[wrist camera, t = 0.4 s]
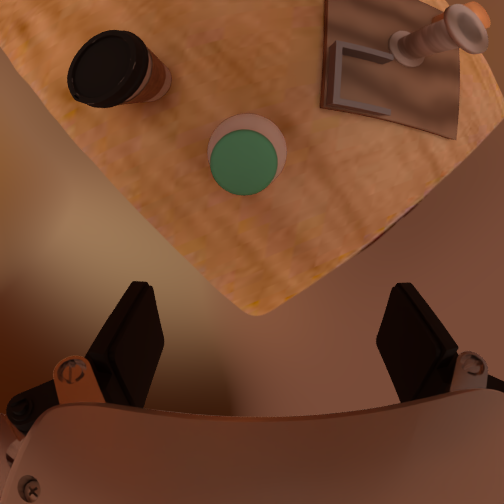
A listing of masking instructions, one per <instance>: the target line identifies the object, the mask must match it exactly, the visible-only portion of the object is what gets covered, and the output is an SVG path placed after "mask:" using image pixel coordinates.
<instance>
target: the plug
mask: <svg viewBox="0 0 504 504" xmlns="http://www.w3.org/2000/svg"><path fill="white" fill-rule="evenodd" d="M464 6H466V7H468V8H469V9H470V10H472V11H473V12H474V13H475V14H476V15H477V16H478V18H479V19H480V20H481V22H482V23H483V25H484V27H485V29H486V28H489V27H490V24H491V23H490V18H489V16H488V14H487V12H486V11H485V9H484V8H483V7H482V6H481V5H480V4H478V3H477V2H474V1H473V2H470V3H467V4H464ZM443 19H444V13H442V14H440V15H437V16H435V17H433V18H432V24H433V23H435V22H438V21H440V20H443Z"/></svg>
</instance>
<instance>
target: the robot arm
mask: <svg viewBox="0 0 504 504" xmlns="http://www.w3.org/2000/svg"><path fill="white" fill-rule="evenodd" d="M376 344H377V347H378V349H379V352H380V354H381V356H382V358H383V361H384V363H385V365H386V368H387V370H388V373H389V375H390V377H391V380H392V382H393V384H394V387H395V389H396V392H397V394H398V397H399V400H400V402H401V403H399V404H393V405H388V406H382V407H377V408H370V409H364V410H356V411H349V412H340V413H330V414H319V415H306V416H289V417H288V416H286V417H232V416H211V415H198V414H186V413H178V412H169V411H159V410H152V409H145V408H143V407H144V404H145V400H146V398H147V394H148V391H149V388H150V385H151V382H152V379H153V376H154V373H155V370H156V367H157V364H158V362H159V359H160V356H161V353H162V350H163V347H164V336H163V332H162V328H161V324H160V319H159V314H158V310H157V306H156V300H155V296H154V290H153V287H152V286H149V284H148V283H147V282H138V281H133V282H132V283H131V284H130V286H129V287H128V289H127V290H126V292H125V293H124V295H123V296H122V298H121V299H120V301H119V303H118V304H117V306H116V307H115V309H114V310H113V312H112V314H111V315H110V316H109V318H108V319H107V321H106V322H105V324H104V326H103V327H102V329H101V330H100V332H99V334H98V335H97V337H96V339H95V341H94V342H93V344H92V345H91V347H90V349H89V351H88V352H87V354H86V356H85V357H81V356H70V357H67V358H65V359H63V360H61V361H60V362H59V363H58V364H57V365H56V367H55V369H54V372H53V378H54V379H53V380H51V381H49V382H46V383H44V384H42V385H39V386H37V387H34V388H32V389H29V390H27V391H25V392H22V393H20V394H18V395H16V396H14V397H13V398H12V399H11V400H10V401H9V403H8V405H7V409H6V411H7V414H6V415H5V416H4V415H3V414H2V413H1V414H0V504H504V381H502V380H499V379H497V378H495V377H493V376H491V375H488V366H487V363H486V361H485V360H484V359H483V358H482V357H481V356H480V355H478V354H477V353H474V352H471V351H465V352H462V353H460V354H459V355H458V354H457V352H456V351H457V349H458V346H457V344H456V343H455V341H454V340H453V338H452V337H451V336H450V334H449V333H448V331H447V330H446V328H445V327H444V326H443V324H442V323H441V321H440V320H439V319H438V317H437V316H436V315H435V313H434V312H433V311H432V309H431V308H430V307H429V305H428V304H427V303H426V301H425V300H424V299H423V298H422V296H421V295H420V294H419V292H418V291H417V290H416V289H415V287H414V286H413V285H412V284H411V283H397V284H396V286H395V287H393V288H392V290H391V293H390V297H389V300H388V304H387V307H386V310H385V314H384V317H383V320H382V323H381V326H380V329H379V332H378V335H377V338H376Z"/></svg>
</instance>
